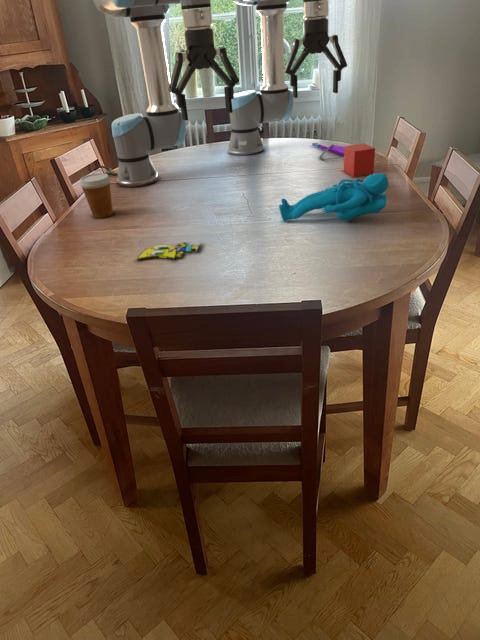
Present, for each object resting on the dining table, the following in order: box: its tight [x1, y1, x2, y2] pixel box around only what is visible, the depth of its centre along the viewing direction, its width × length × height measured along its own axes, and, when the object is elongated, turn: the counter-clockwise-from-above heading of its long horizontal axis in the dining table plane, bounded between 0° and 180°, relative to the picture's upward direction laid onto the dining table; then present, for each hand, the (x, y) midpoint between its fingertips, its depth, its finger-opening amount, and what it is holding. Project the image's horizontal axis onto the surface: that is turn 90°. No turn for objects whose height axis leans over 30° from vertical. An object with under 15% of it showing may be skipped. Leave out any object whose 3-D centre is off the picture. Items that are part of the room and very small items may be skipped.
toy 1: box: [137, 241, 202, 262], centre depth 126 cm, size 10×1×15 cm
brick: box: [343, 143, 376, 178], centre depth 170 cm, size 8×8×9 cm
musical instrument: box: [311, 142, 345, 160], centre depth 196 cm, size 24×2×20 cm
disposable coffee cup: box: [79, 172, 114, 219], centre depth 152 cm, size 10×10×12 cm
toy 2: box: [278, 172, 389, 222], centre depth 135 cm, size 17×11×30 cm
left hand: (207, 116), depth 136 cm, fingers open, 13 cm apart
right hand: (315, 95), depth 157 cm, fingers open, 13 cm apart
